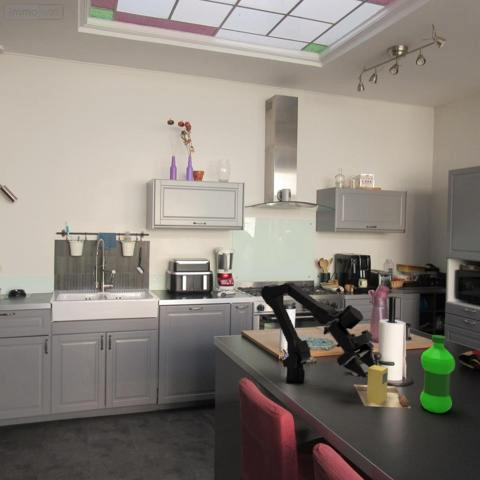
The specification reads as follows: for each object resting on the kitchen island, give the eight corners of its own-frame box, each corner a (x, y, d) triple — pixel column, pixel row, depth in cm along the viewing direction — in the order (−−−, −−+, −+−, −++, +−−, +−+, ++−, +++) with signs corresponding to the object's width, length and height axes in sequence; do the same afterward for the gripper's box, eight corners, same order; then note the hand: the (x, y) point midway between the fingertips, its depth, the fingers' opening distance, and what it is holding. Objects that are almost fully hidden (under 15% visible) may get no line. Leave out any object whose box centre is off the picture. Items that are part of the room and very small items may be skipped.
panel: (364, 408, 164) (364, 405, 164) (353, 386, 185) (353, 384, 185) (410, 410, 164) (410, 408, 164) (394, 388, 185) (394, 386, 185)
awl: (402, 407, 164) (402, 399, 164) (394, 396, 174) (394, 389, 174) (409, 407, 164) (409, 400, 164) (401, 396, 174) (401, 389, 174)
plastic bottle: (449, 420, 156) (453, 342, 155) (415, 412, 162) (418, 337, 161) (455, 410, 165) (458, 336, 163) (422, 403, 170) (425, 331, 169)
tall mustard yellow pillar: (366, 401, 169) (368, 367, 168) (372, 397, 173) (374, 364, 172) (381, 405, 166) (382, 371, 165) (387, 400, 169) (388, 367, 169)
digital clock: (354, 378, 196) (355, 351, 195) (338, 371, 204) (339, 346, 203) (382, 371, 205) (383, 346, 204) (366, 366, 212) (366, 341, 212)
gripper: (346, 327, 166) (376, 366, 159) (369, 319, 180) (398, 355, 174) (324, 347, 171) (353, 385, 164) (348, 337, 185) (376, 372, 179)
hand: (371, 374), depth 170 cm, fingers open, 9 cm apart
